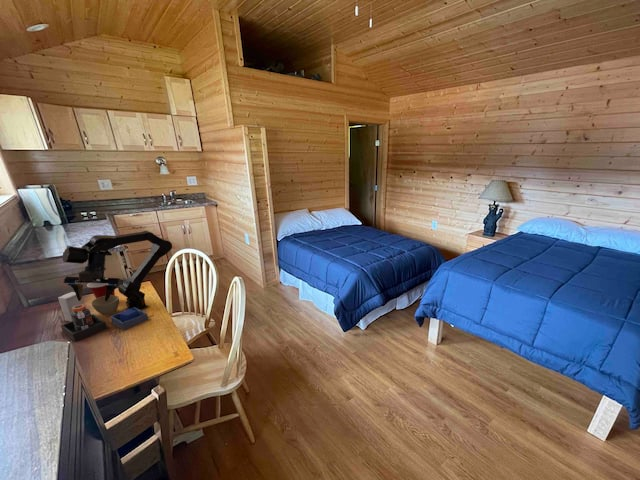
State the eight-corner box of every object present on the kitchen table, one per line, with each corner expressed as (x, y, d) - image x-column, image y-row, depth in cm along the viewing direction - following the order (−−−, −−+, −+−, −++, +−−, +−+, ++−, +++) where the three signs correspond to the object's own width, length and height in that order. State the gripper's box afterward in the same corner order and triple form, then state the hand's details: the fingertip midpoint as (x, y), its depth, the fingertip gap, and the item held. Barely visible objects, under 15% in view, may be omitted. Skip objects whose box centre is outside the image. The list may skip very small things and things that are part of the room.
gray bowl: (127, 311, 145) (123, 298, 142) (103, 320, 136) (99, 307, 134) (113, 306, 148) (110, 293, 146) (90, 315, 140) (86, 301, 137)
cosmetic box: (73, 322, 133) (65, 298, 129) (65, 320, 134) (57, 297, 130) (87, 315, 139) (79, 292, 134) (79, 314, 140) (72, 291, 135)
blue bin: (136, 313, 144) (135, 307, 143) (148, 320, 140) (147, 313, 138) (111, 322, 135) (110, 316, 134) (123, 330, 131) (122, 323, 130)
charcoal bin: (94, 320, 136) (92, 314, 135) (107, 328, 131) (105, 322, 130) (62, 332, 127) (60, 325, 125) (75, 341, 122) (72, 334, 121)
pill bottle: (92, 331, 128) (85, 308, 123) (74, 334, 125) (66, 311, 121) (96, 324, 133) (89, 302, 128) (79, 327, 130) (71, 304, 126)
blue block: (130, 317, 140) (128, 308, 138) (138, 319, 139) (136, 310, 137) (121, 322, 136) (119, 313, 134) (129, 324, 135) (127, 315, 133)
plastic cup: (107, 296, 156) (101, 275, 151) (126, 299, 155) (120, 278, 150) (86, 306, 146) (79, 284, 141) (106, 309, 145) (100, 287, 140)
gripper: (57, 261, 118) (53, 301, 117) (114, 264, 124) (110, 302, 123) (73, 264, 129) (69, 300, 128) (125, 266, 135) (122, 301, 134)
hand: (92, 301), depth 128 cm, fingers open, 9 cm apart
